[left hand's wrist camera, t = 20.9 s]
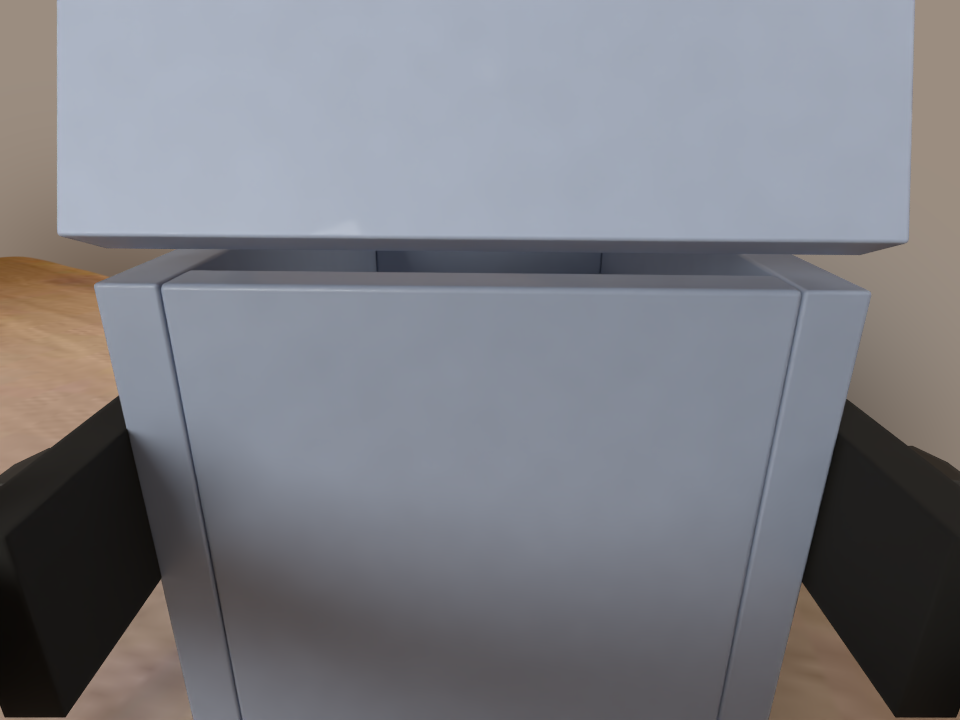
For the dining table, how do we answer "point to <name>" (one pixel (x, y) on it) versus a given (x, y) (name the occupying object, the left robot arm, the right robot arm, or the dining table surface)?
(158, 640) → the dining table surface
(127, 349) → the chest
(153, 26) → the lid
